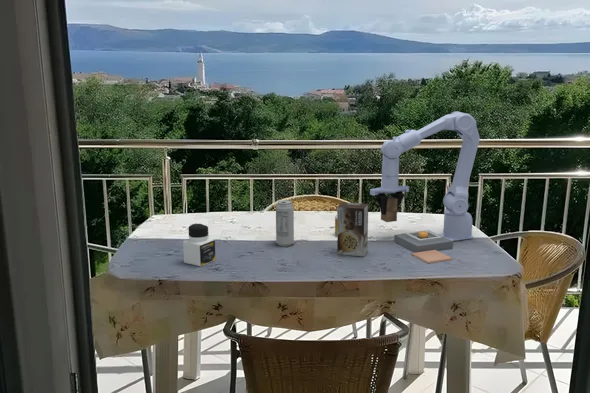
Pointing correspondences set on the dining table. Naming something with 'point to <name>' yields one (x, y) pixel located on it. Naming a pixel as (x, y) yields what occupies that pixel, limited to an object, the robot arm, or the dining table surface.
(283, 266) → the dining table surface
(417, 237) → the grey square socket base
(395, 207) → the brown rectangular block
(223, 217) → the dining table surface
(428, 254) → the terracotta tile
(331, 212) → the dining table surface
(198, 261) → the medicine bottle
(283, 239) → the energy drink can
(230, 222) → the dining table surface
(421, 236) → the button
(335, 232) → the supplement bottle
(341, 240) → the coffee box
